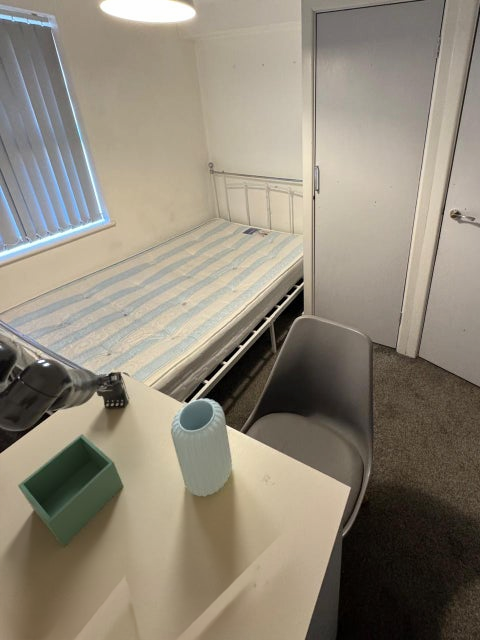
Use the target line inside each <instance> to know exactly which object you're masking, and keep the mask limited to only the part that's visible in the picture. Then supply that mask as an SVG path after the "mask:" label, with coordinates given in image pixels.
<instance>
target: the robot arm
mask: <svg viewBox="0 0 480 640" xmlns="http://www.w3.org/2000/svg"><path fill="white" fill-rule="evenodd" d="M19 358H20V353H19V351H18V350H17V349H16V348H15V347H14V346H12V345H11V344H10V343H8V342H6V341H5V340H3V338H0V428H1V429H3V430H5V431H10V432H21V431H25V430H27V429H29V428H32V426H34V425H35V424H36V423H37V422H38V421H39V420H40V419H41V418H42V416H43V415H44V414H45V413H48V412H55V411H58V410H59V411H61V410H68V409H72V408H75V407H79V406H82V405H84V404H86V403H87V402H89V401H90V400H91V399H92V398H93V397H94V396H95V393H97V392H96V391H100V390H103V389H106V388H107V386H113V385H115V384H117V383H118V384H119V383H121V382H122V379H121V376H122V372H121V371H115V372H113V371H111V372H110V373H107V374H108V375H107V376H106V375H105V374H106V373H102V374H97V375H96V374H95V373H94V372H92V371H91V370H90V369H89V370H88V369H86V368H85V369H84V368H67V367H65V366H64V364H62V363H60V362H59V361H57V360H55V359H52V358H45V357H43V358H39V359H36V360H34V361H32V362H31V363H29V364H28V365H26V367H24V368H23V369H22V370H21V372H19V374H18V375H16V377H15V378H14V379H13V380H12V381H10V383H9V384H8V379H9V376H10V374H11V372H12V371H13V370H14V368H15V367H16V365H17V363H18V361H19ZM106 382H108V383H109V384H107V383H106ZM99 387H100V388H99ZM97 388H98V389H97Z"/></svg>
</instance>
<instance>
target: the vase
mask: <svg viewBox="0 0 480 640" xmlns="http://www.w3.org/2000/svg"><path fill="white" fill-rule="evenodd" d="M170 435H171V439H172V443H173V447H174V450H175V453H176V458H177V461H178V465H179V468H180V472H181V476H182V479H183V483H184V486H185V487H186V489H187V491H188V492H190V493H191V494H192V495H194V496H195V495H196V496H197V497H207V496H212V495H213V494H214V493H218V492H219V491H220V489H221V488H223V487H224V486H225V483H227V482H228V480H229V477H230V476H231V473H232V469H233V463H232V461H233V460H232V453H231V446H230V441H229V434H228V428H227V422H226V416H225V412H224V409H223V407H222V406H221V405H220V403H218V402H217V401H215V400H214V399H210V398H203V397H201V398H199V399H194V400H193V401H189V402H188V403H186V404H184V405H183V406H182V407H181V408H180V409H179V410H178V411H177V413H176V414H175V416H174V417H173V420H172V422H171V428H170Z"/></svg>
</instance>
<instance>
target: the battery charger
mask: <svg viewBox="0 0 480 640" xmlns="http://www.w3.org/2000/svg"><path fill="white" fill-rule="evenodd" d="M104 374H105V375H106V376H107V375H108V374H109V373H104ZM121 379H122V382H121V383H119V384H118V383H117V384H115V385H113V386H107V388H106V389H103V390H100V391H96V392H95V393H96V394H97V396H98V397H102V399H103V405H104V406H103V407H104V408H105V409H122V408H125V407H126V406H127V405H128V403H130V397H129V394H128V390H127V387H126V383H125V380H124V377H123V376H122V375H121ZM106 383H107V384H109V383H108V382H106ZM99 388H100V387H99ZM97 389H98V388H97Z"/></svg>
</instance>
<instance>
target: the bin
mask: <svg viewBox="0 0 480 640" xmlns="http://www.w3.org/2000/svg"><path fill="white" fill-rule="evenodd" d="M17 487H18V488H19V490H20V491H21V493H22V495H23V496H24V498H25V499H26V501H27V502H28V504H29V505H30V507H31V508H32V510H33V511H34V513H35V514H36V515H37V516H38V518H39V519H40V520H41V522H43V524H44V525H45V526H46V527H47V529H48V530H49V531H50V532H51V534H52V535H53V536H54V538H55V539H56V540H57V542H58V543H59V544H60V545H61V547H62V548H65V547H66V546H67V545H68V544H69V543H70V542H71V541H72V540H73V539H74V538H75V537H76V536H77V535H78V534H79V533H80V532H81V531H82V530H83V529H84V528H85V526H87V525H88V523H90V522H91V520H92V519H94V518H95V516H97V514H98V513H99V512H100V511H101V510H102V509H103V508H104V507H105V506H106V505H107V504H108V503H109V502H110V501H111V500H112V499H113V498H114V497H115V496H116V495H117V494H118V493H119V491H121V489H123V487H124V483H123V481H122V479H121V476H120V474H119V472H118V469H117V467H116V464H115V462H114V460H112V459H111V458H110V457H109V456H108V455H106V454H105V452H103V451H102V450H101V449H100V448H98V446H96V445H95V444H94V443H93V442H92V441H91V440H90V439H89V438H87V437H86V436H85V435H84V434H83V433H81V434H80V435H79V436H78V437H76V438H75V439H74V440H72V441H71V442H70V443H68V444H67V445H66V446H65V447H64V448H62V449H61V450H60V451H59V452H57V453H56V454H54V455H53V456H52V457H51V458H50V459H49V460H47V462H44V464H43V465H41V466H40V467H38V469H36V470H35V471H34V472H33V473H31V474H30V475H29V476H28V477H26V478H25V479H24V480H22V482H20V483H19V484H17Z"/></svg>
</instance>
